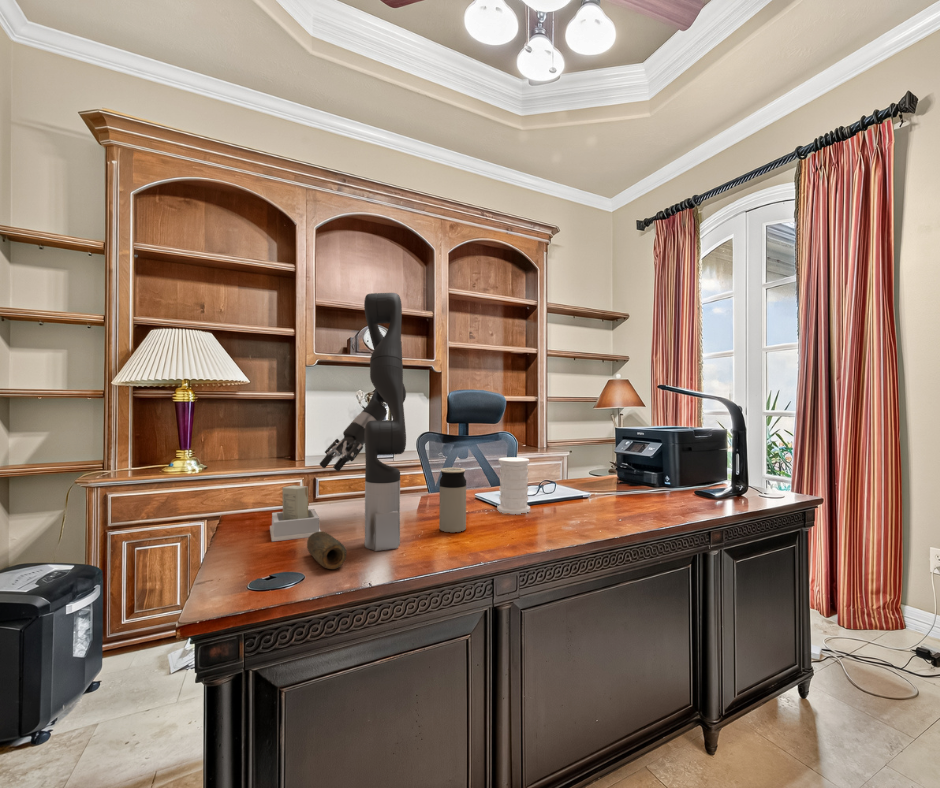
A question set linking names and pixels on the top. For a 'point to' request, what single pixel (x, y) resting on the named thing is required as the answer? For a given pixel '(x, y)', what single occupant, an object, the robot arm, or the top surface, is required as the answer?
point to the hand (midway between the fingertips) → (328, 468)
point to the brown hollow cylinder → (326, 550)
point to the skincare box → (295, 502)
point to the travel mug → (452, 500)
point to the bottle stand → (294, 526)
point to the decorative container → (513, 485)
